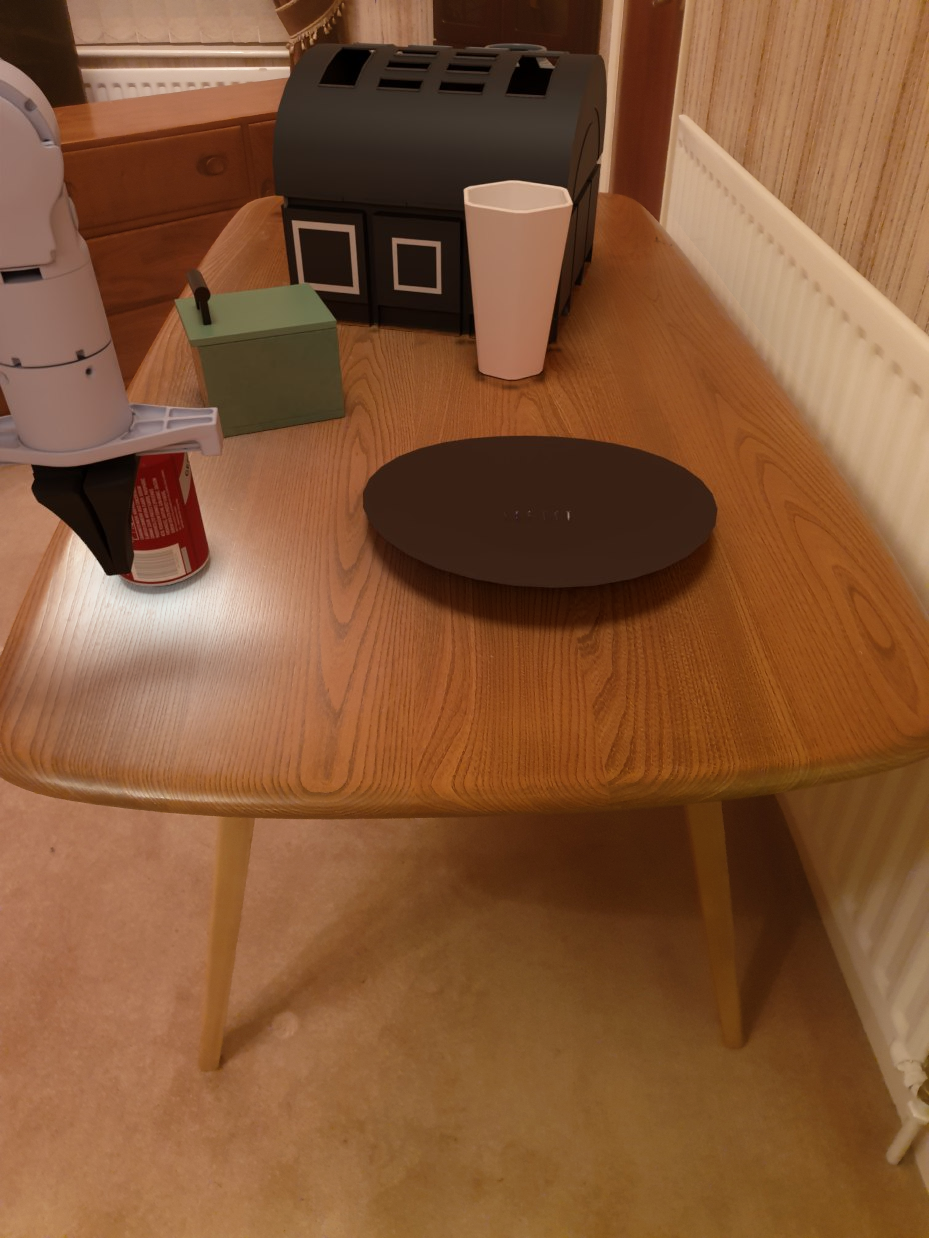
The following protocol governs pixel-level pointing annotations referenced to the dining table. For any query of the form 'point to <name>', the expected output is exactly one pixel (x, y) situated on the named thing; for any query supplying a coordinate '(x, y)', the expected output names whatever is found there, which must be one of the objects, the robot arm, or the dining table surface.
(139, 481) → the soda can
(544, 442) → the plate
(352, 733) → the dining table surface
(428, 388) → the dining table surface
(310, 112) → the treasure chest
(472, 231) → the cup
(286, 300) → the bread bin lid
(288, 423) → the bin
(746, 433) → the dining table surface
